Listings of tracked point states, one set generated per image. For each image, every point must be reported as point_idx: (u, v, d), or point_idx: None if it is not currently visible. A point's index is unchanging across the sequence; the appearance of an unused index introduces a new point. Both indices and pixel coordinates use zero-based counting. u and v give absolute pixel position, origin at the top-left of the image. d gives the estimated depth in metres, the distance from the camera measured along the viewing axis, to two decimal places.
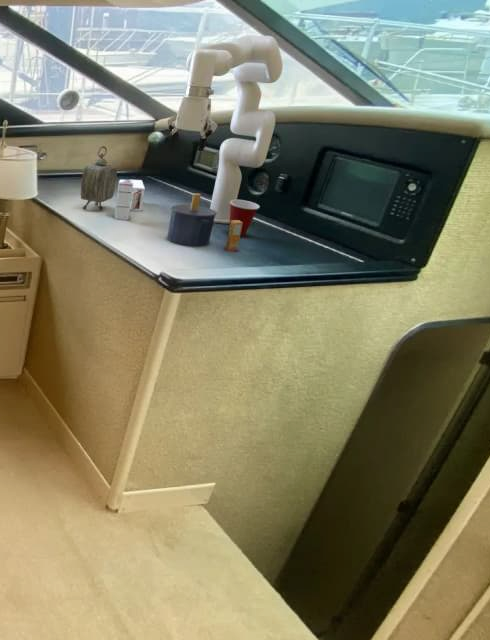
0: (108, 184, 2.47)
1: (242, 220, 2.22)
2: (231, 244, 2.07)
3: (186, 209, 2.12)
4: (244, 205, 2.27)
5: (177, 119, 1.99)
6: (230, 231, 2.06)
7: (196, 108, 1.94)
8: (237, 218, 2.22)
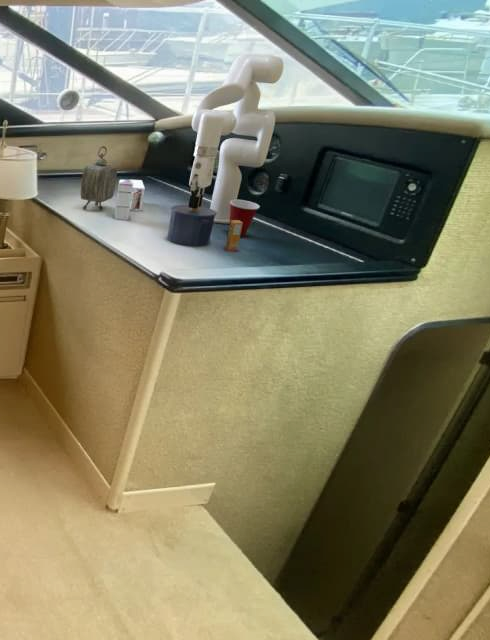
0: (108, 184, 2.47)
1: (242, 220, 2.22)
2: (231, 244, 2.07)
3: (186, 209, 2.12)
4: (244, 205, 2.27)
5: None
6: (230, 231, 2.06)
7: None
8: (237, 218, 2.22)
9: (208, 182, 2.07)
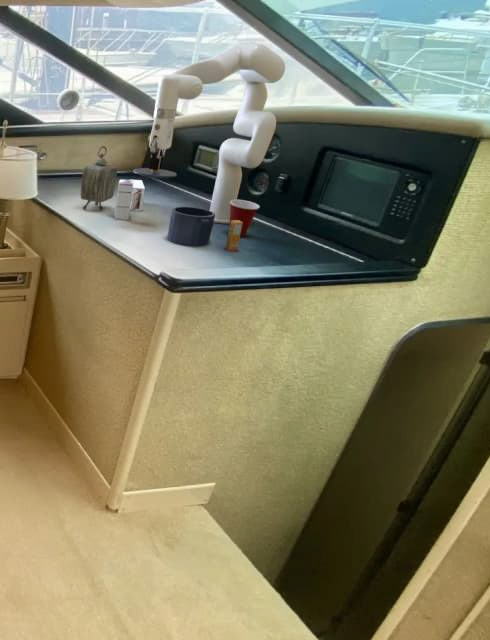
0: (108, 184, 2.47)
1: (242, 220, 2.22)
2: (231, 244, 2.07)
3: (147, 171, 2.19)
4: (244, 205, 2.27)
5: None
6: (230, 231, 2.06)
7: None
8: (237, 218, 2.22)
9: (168, 144, 2.14)
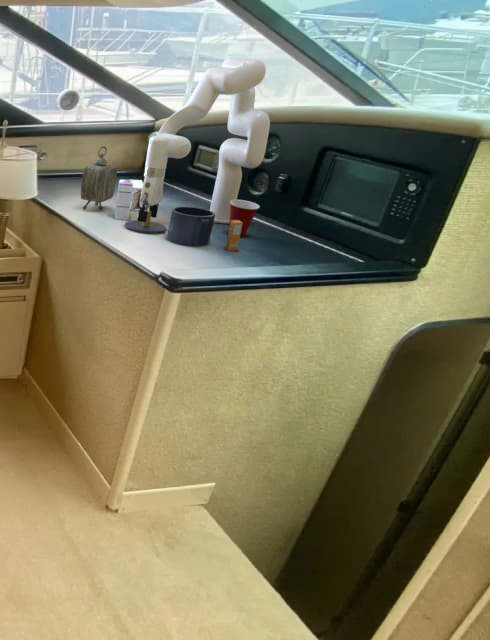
0: (108, 184, 2.47)
1: (242, 220, 2.22)
2: (231, 244, 2.07)
3: (138, 225, 2.29)
4: (244, 205, 2.27)
5: None
6: (230, 231, 2.06)
7: None
8: (237, 218, 2.22)
9: (158, 200, 2.24)
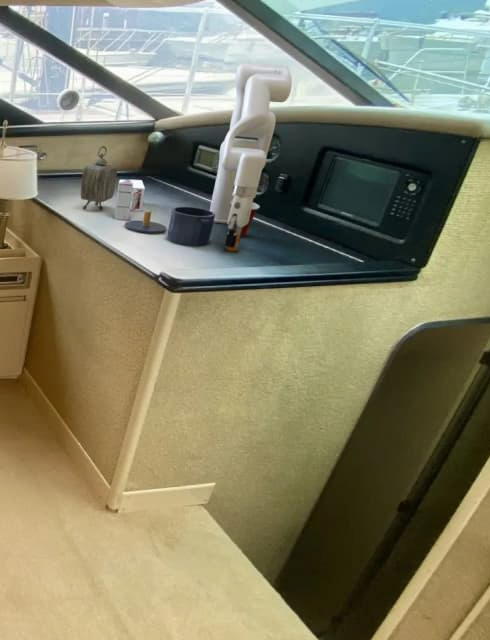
0: (108, 184, 2.47)
1: None
2: None
3: (138, 225, 2.29)
4: None
5: None
6: None
7: None
8: None
9: (247, 221, 2.05)
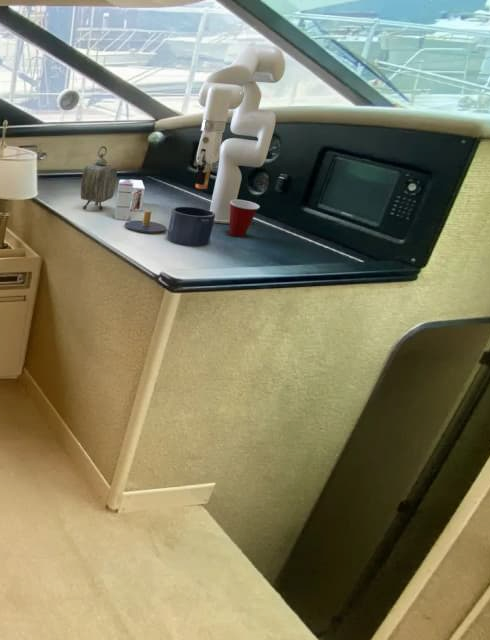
0: (108, 184, 2.47)
1: (242, 220, 2.22)
2: None
3: (138, 225, 2.29)
4: (244, 205, 2.27)
5: None
6: None
7: None
8: (237, 218, 2.22)
9: (216, 158, 2.03)
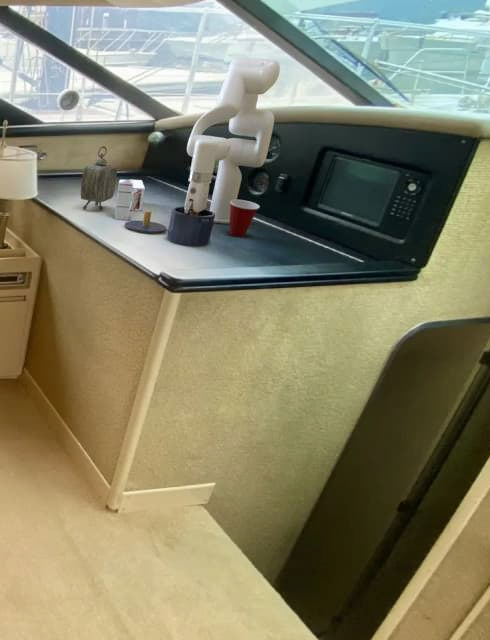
0: (108, 184, 2.47)
1: (242, 220, 2.22)
2: None
3: (138, 225, 2.29)
4: (244, 205, 2.27)
5: None
6: None
7: None
8: (237, 218, 2.22)
9: (203, 206, 2.11)
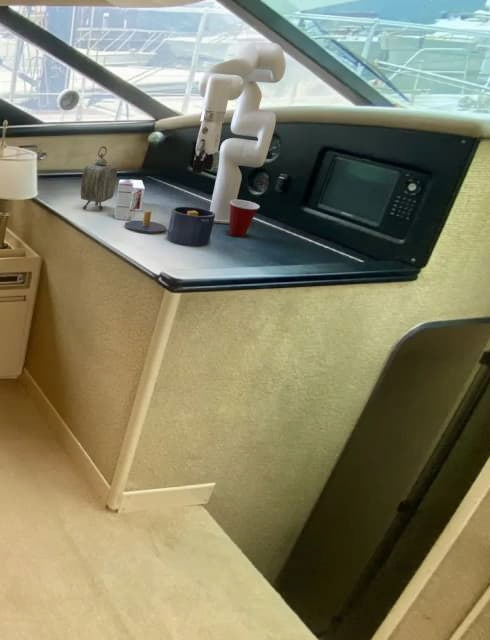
0: (108, 184, 2.47)
1: (242, 220, 2.22)
2: None
3: (138, 225, 2.29)
4: (244, 205, 2.27)
5: None
6: None
7: None
8: (237, 218, 2.22)
9: (215, 149, 2.02)
